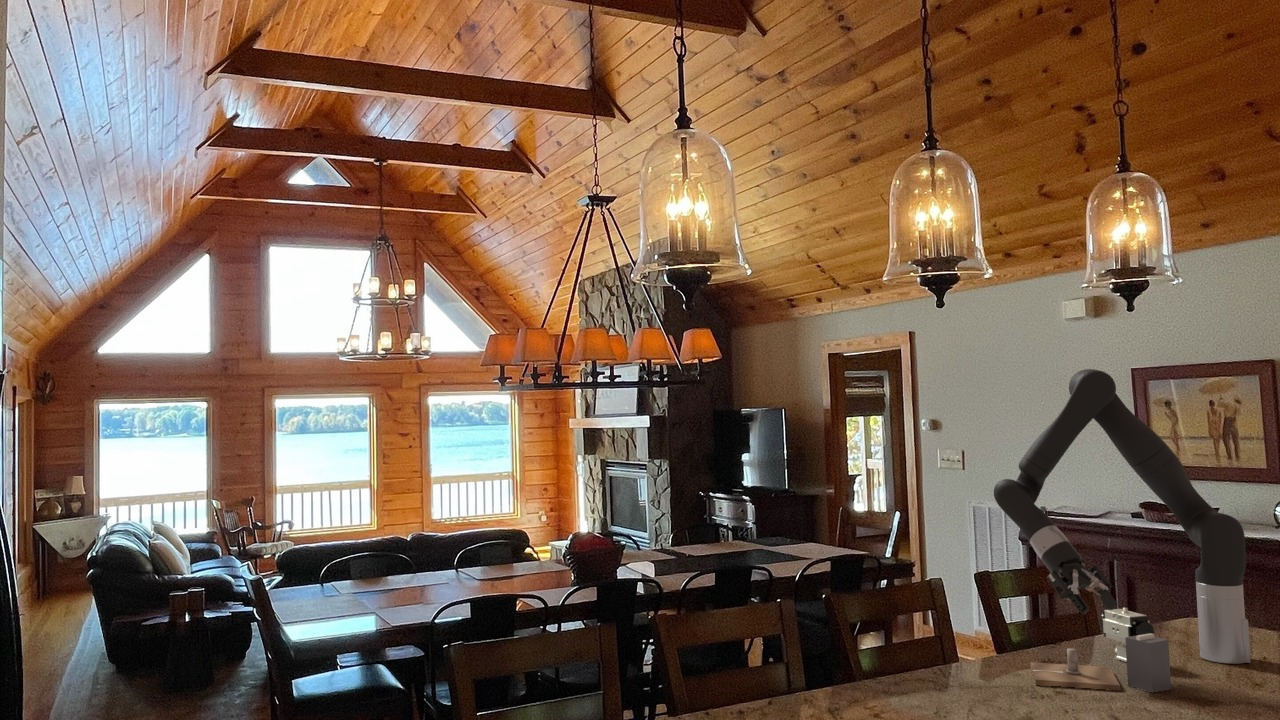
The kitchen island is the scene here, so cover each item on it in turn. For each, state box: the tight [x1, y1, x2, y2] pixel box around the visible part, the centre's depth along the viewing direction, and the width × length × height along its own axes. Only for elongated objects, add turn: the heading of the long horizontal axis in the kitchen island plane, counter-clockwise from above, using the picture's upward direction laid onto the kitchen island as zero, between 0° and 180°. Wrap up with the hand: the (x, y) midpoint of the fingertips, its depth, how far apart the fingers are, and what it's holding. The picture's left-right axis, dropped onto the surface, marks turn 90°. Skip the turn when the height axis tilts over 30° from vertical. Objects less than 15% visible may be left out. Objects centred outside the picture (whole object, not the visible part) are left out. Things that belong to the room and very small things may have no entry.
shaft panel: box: [1030, 647, 1121, 691], centre depth 198 cm, size 16×14×6 cm
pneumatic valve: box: [1099, 607, 1155, 663], centre depth 211 cm, size 6×12×12 cm, turn 15°
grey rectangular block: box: [1125, 633, 1172, 694], centre depth 191 cm, size 6×6×11 cm
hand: (1100, 609), depth 201 cm, fingers open, 8 cm apart
